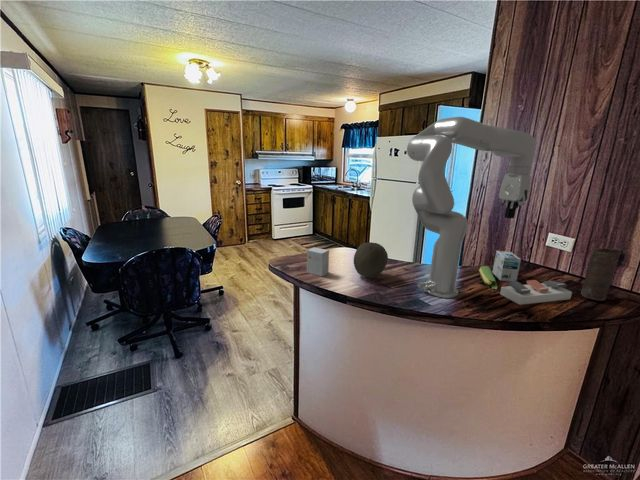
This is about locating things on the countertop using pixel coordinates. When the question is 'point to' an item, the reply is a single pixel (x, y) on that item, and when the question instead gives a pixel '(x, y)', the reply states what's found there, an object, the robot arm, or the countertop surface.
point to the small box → (317, 261)
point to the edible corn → (487, 276)
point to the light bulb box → (506, 266)
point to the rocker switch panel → (536, 294)
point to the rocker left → (519, 287)
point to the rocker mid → (537, 285)
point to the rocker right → (554, 284)
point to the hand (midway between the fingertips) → (509, 217)
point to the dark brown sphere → (370, 259)
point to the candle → (600, 273)
